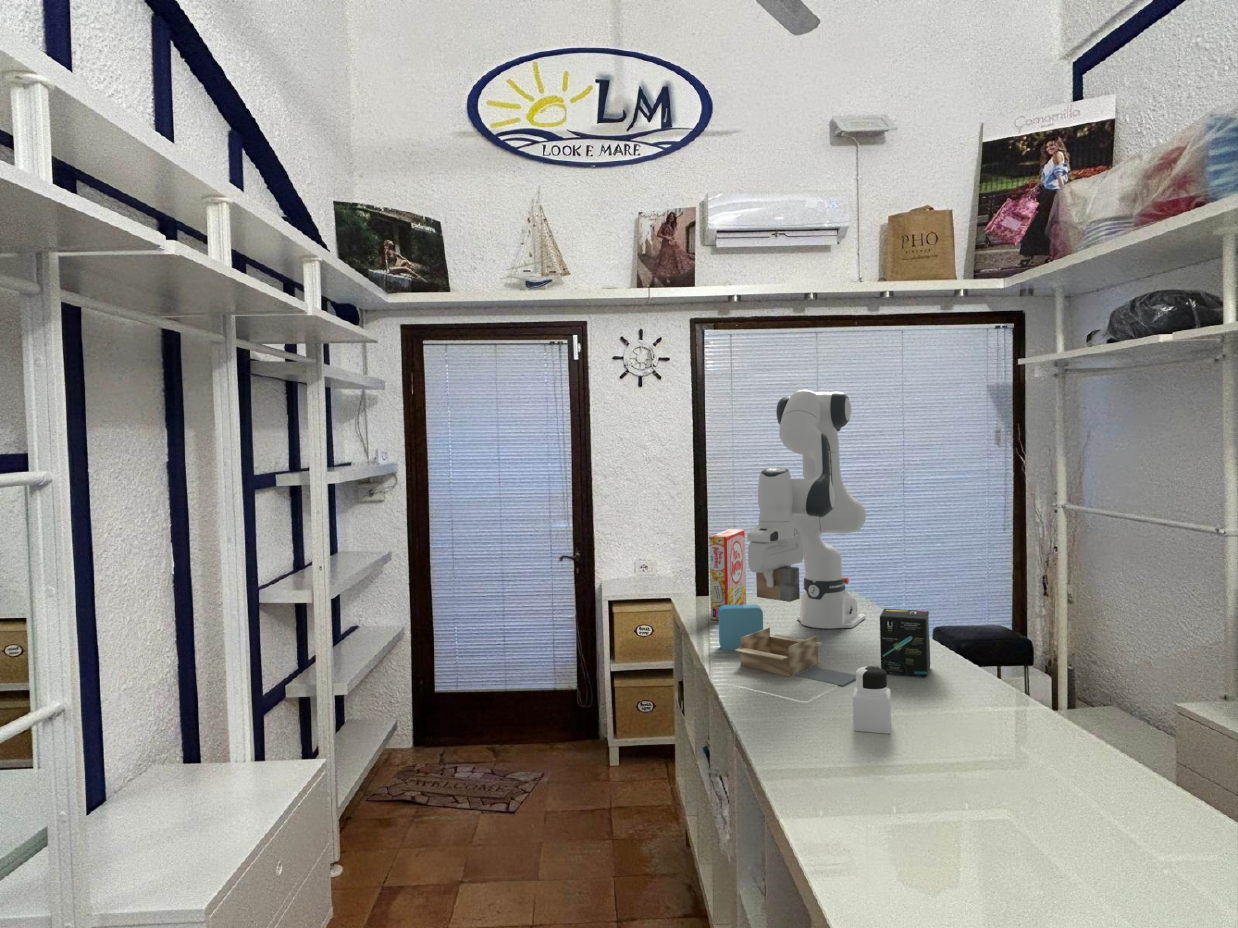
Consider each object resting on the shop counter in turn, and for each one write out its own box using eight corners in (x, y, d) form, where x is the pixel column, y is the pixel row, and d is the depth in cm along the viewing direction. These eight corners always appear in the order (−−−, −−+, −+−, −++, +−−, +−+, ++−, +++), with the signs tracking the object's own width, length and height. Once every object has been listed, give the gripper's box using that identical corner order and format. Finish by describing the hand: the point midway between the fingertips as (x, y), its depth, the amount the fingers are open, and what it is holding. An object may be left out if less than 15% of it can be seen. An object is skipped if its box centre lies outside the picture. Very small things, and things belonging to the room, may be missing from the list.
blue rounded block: (762, 646, 228) (760, 603, 228) (764, 650, 224) (762, 607, 223) (719, 646, 229) (718, 604, 228) (720, 651, 225) (719, 608, 224)
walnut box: (766, 594, 214) (765, 563, 213) (799, 598, 207) (798, 567, 206) (756, 597, 210) (756, 566, 210) (790, 601, 203) (789, 570, 203)
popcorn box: (728, 621, 258) (726, 536, 257) (710, 619, 261) (707, 536, 260) (747, 607, 277) (744, 528, 276) (729, 606, 279) (727, 528, 278)
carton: (775, 652, 221) (774, 625, 221) (823, 661, 211) (822, 633, 211) (734, 668, 208) (733, 639, 208) (783, 679, 198) (782, 649, 197)
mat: (813, 667, 206) (813, 666, 206) (860, 677, 197) (860, 675, 197) (794, 676, 200) (794, 674, 200) (842, 686, 191) (842, 685, 191)
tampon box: (930, 667, 203) (929, 609, 203) (927, 678, 195) (926, 618, 194) (884, 663, 208) (883, 607, 207) (880, 674, 200) (879, 615, 199)
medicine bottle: (891, 721, 168) (889, 664, 168) (890, 734, 161) (889, 675, 161) (855, 718, 170) (853, 662, 170) (853, 731, 164) (852, 672, 163)
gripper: (788, 525, 217) (789, 577, 218) (742, 535, 203) (744, 589, 203) (808, 527, 213) (809, 579, 214) (764, 536, 198) (765, 592, 199)
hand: (777, 584), depth 208 cm, fingers closed on walnut box, 4 cm apart
